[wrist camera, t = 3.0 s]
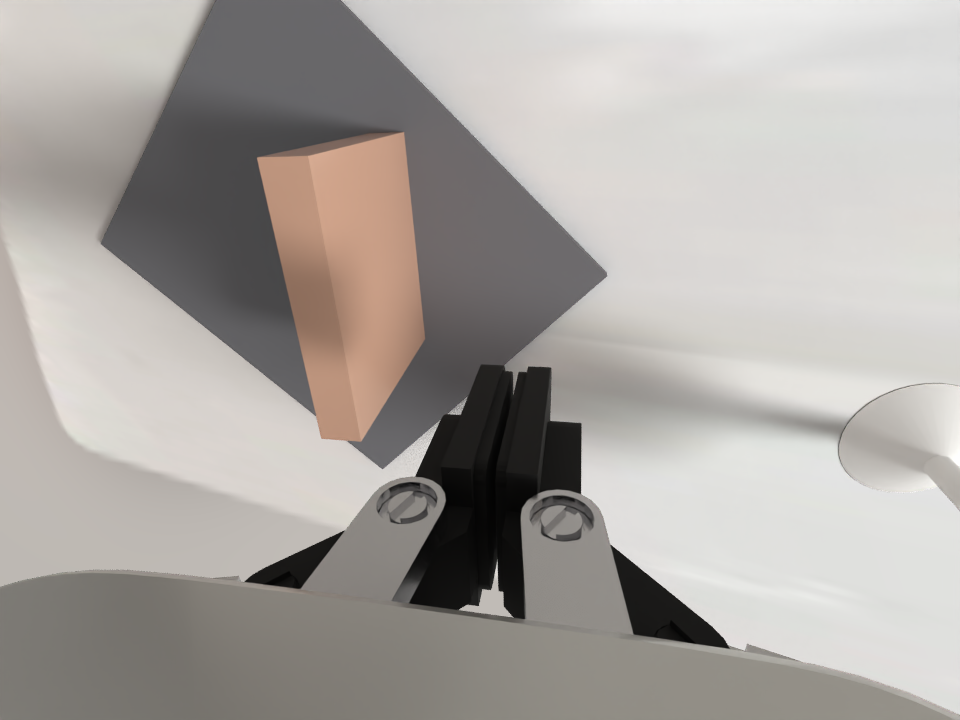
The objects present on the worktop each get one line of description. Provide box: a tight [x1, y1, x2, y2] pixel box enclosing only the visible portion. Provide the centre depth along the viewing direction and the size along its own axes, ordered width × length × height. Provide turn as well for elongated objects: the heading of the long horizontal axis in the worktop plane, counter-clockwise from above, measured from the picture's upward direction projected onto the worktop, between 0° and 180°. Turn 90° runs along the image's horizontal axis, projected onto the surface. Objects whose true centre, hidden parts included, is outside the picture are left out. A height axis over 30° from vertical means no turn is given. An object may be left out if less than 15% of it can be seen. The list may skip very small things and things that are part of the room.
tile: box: [257, 132, 425, 442], centre depth 21 cm, size 10×2×9 cm, turn 3°
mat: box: [101, 0, 607, 469], centre depth 26 cm, size 20×18×1 cm
